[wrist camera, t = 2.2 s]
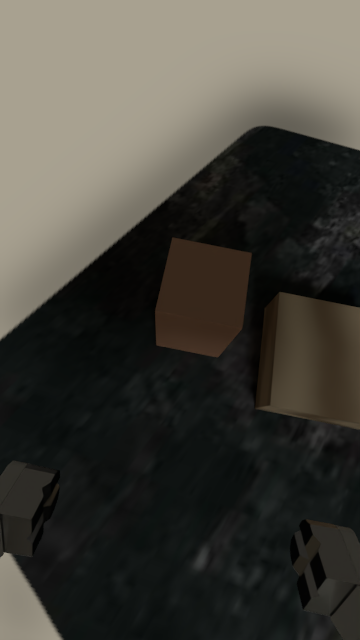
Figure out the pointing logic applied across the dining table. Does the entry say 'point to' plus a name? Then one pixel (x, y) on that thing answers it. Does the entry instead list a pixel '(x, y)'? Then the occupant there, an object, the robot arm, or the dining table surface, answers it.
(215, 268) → the reddish brown block
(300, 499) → the dining table surface
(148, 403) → the dining table surface
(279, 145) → the dining table surface
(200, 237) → the dining table surface
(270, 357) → the oak base block
